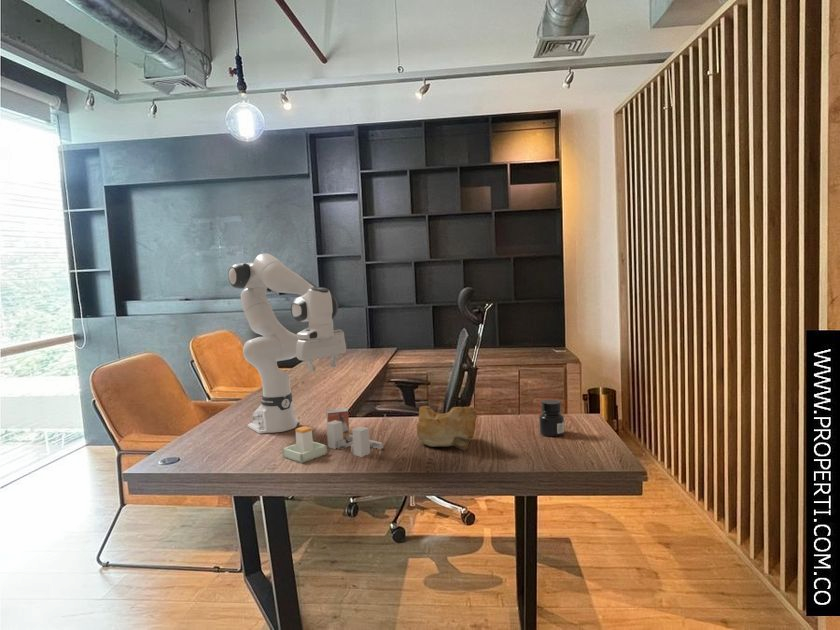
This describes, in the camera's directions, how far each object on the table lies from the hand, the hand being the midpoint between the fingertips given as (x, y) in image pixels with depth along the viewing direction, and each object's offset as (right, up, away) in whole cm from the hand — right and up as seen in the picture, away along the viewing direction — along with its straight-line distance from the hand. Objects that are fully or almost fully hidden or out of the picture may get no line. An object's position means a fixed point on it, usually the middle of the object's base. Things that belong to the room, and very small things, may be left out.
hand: (323, 369), depth 181 cm
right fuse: (+16, -28, -11) cm, 34 cm away
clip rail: (+13, -28, -4) cm, 31 cm away
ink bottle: (+85, -24, +2) cm, 88 cm away
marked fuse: (-4, -28, -10) cm, 30 cm away
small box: (+4, -28, +9) cm, 29 cm away
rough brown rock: (+48, -27, -4) cm, 55 cm away
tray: (-4, -29, -10) cm, 31 cm away
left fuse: (+5, -28, -2) cm, 29 cm away
